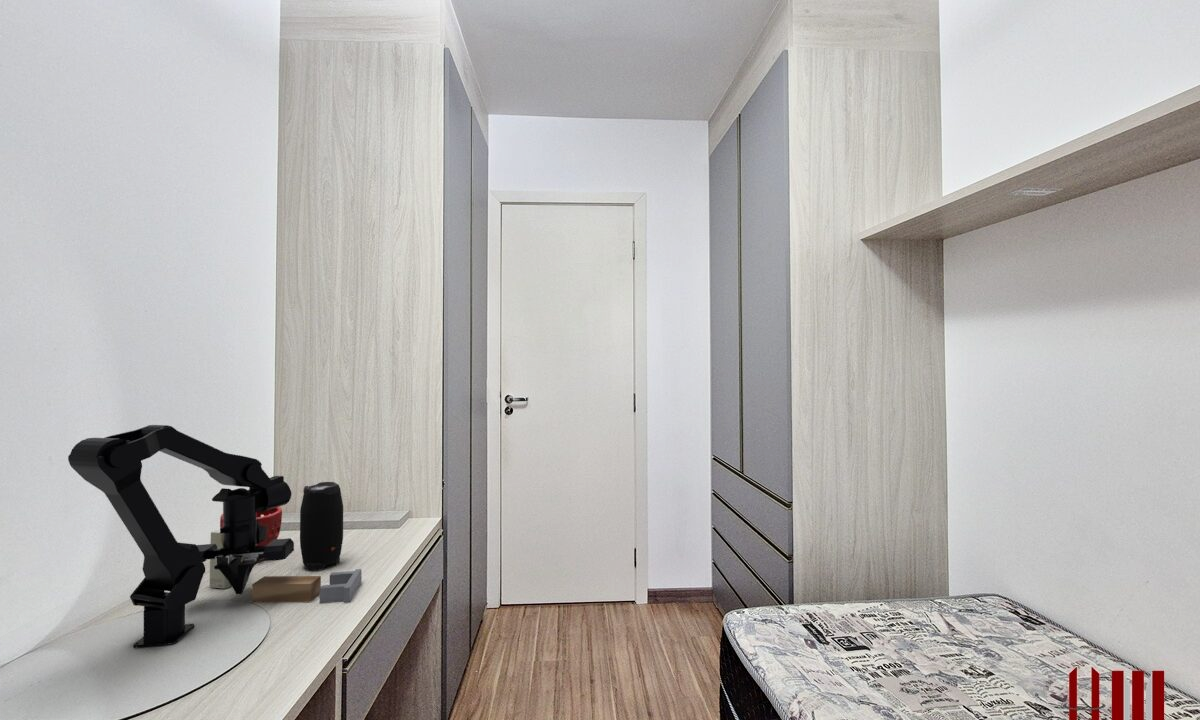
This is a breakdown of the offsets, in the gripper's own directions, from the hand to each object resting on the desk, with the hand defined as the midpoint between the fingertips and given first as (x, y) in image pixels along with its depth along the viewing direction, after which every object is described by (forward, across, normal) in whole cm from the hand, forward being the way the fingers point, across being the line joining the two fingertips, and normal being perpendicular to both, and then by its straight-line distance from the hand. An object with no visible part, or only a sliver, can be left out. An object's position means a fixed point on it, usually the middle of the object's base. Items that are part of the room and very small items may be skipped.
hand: (240, 593), depth 108 cm
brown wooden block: (+2, -9, 0) cm, 9 cm away
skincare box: (+2, +6, -11) cm, 13 cm away
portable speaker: (+2, -11, -18) cm, 21 cm away
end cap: (+2, -19, +1) cm, 19 cm away
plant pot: (+2, +8, -27) cm, 28 cm away
